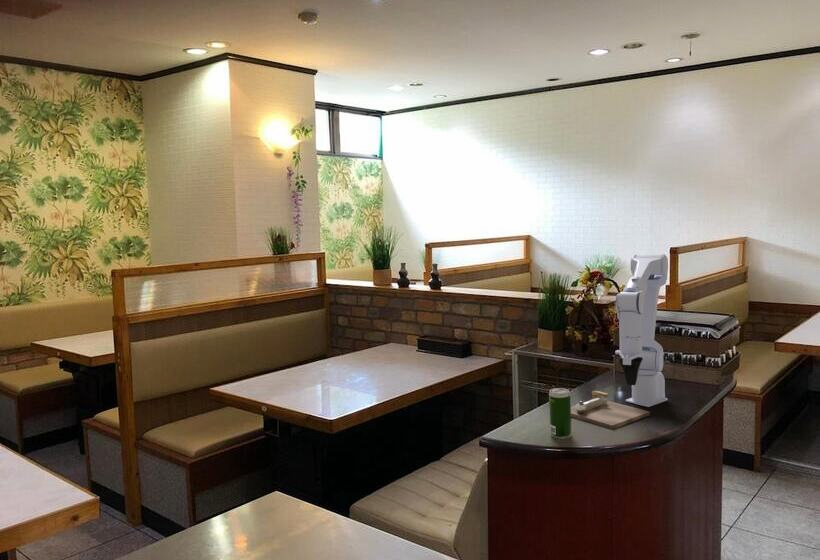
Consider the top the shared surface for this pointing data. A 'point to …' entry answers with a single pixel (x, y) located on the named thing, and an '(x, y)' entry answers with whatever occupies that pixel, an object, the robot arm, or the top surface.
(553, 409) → the beer can
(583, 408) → the steel link
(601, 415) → the board
